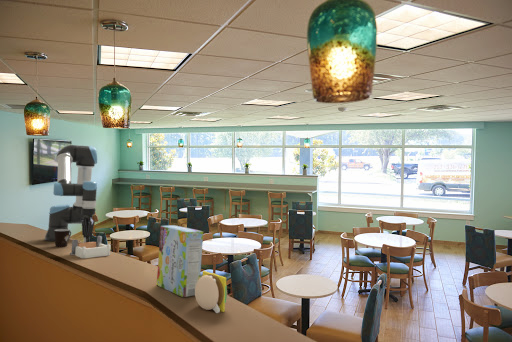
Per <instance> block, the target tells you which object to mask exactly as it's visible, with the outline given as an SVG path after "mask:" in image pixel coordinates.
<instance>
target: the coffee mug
mask: <svg viewBox="0 0 512 342" xmlns="http://www.w3.org/2000/svg"><path fill="white" fill-rule="evenodd" d="M54 232H55V241H54V243H55V244H54V245H55V248H66V247H67V248H68V243H69V240H68V238H69V237H70V238H71V235H72V231H71V230H70V229H69V228H68V229H57V230H54ZM69 234H70V236H69Z"/></svg>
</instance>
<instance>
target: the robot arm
mask: <svg viewBox="0 0 512 342" xmlns="http://www.w3.org/2000/svg"><path fill="white" fill-rule="evenodd" d="M97 152H98V151H97V148H96V147H94V146H90V145H78V144H77V145H75V144H69V145H66V146H64V147H62V148H61V149H59V151H58V152H57V154H56V157H55V160H56V162H57V182H55V183H54V184H53V192H52V193H53V195H54V196H59V197H75V202H74V203H72V206H70V204H58V205H56V204H55V205H52V206H50V208H49V212H48V214H49V215H48V216H49V217H48V229H47V231H46V233H45V236H44V241H46V242H55V232H54V230H57V229H69V225H74V224H77V225H78V224H80V225H81V233H82V236H83V243H86V242H90V238H91V237H93V232H94V225H95V222H96V221H95V220H94V217H93V216H94V215H96V207H97V189H98V182H97V181H92V172H93V171H92V170H93V168H94V167H95V165H97V164H98V153H97ZM72 163H75V165H76V166H75V167H77V177H76V179H77V180H76V181H77V182H76V183H72ZM69 236H70V233H69ZM69 238H70V239H71V236H70V237H69ZM69 238H68V241H69V240H70V239H69Z"/></svg>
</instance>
